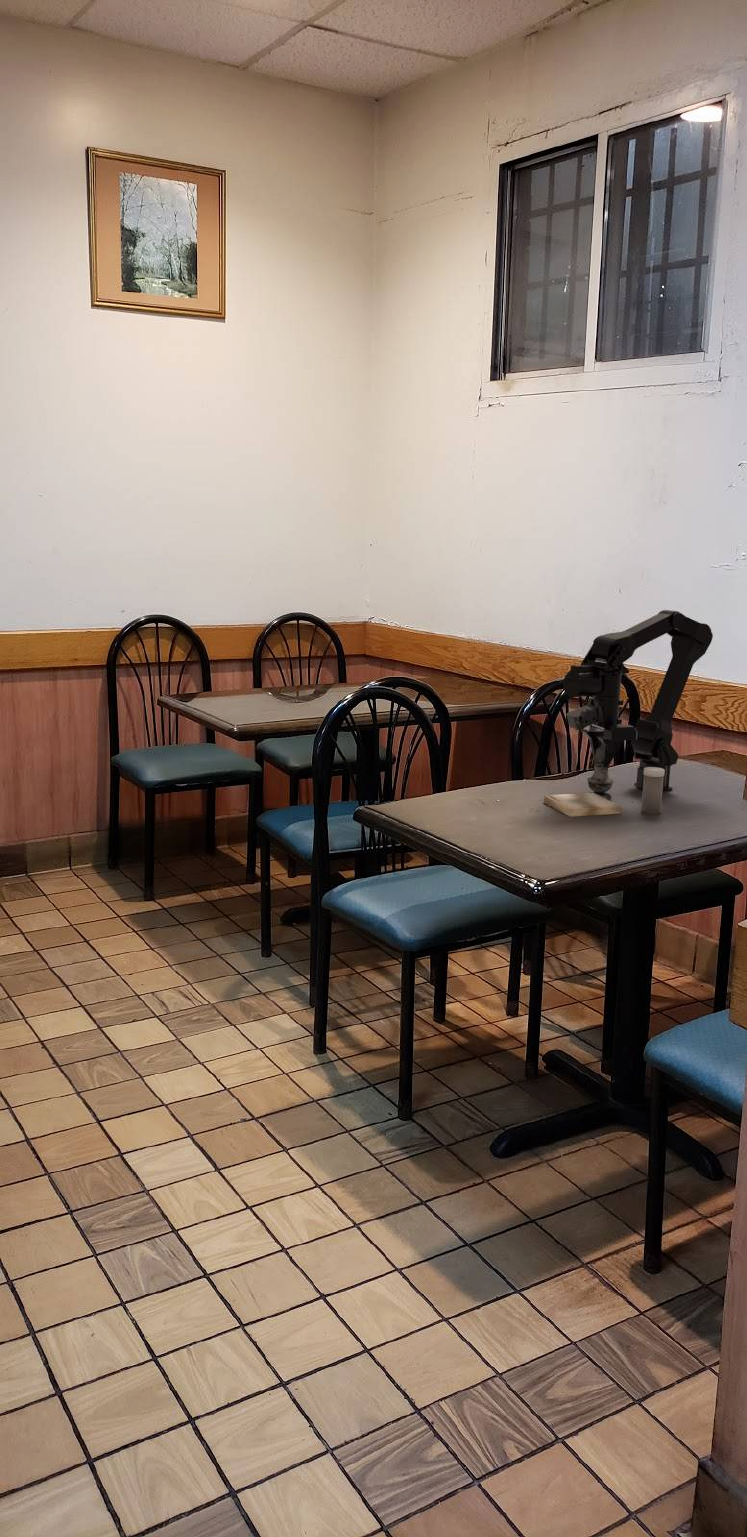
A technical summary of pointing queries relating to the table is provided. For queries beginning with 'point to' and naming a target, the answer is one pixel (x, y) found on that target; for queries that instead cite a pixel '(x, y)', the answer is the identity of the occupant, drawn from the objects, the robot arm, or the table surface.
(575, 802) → the maple picture frame
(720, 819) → the table surface
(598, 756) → the salt shaker
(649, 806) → the pepper shaker
